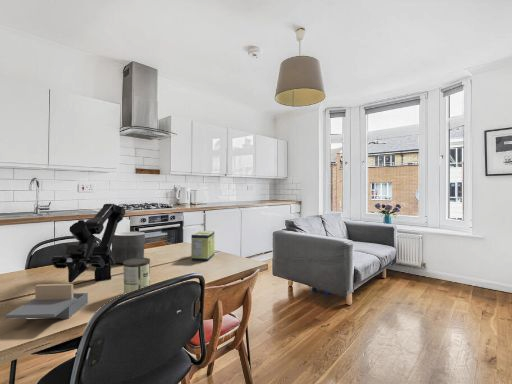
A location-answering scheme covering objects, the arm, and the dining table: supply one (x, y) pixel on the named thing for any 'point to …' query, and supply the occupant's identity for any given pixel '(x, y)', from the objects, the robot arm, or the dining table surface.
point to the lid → (46, 302)
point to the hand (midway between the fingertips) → (69, 282)
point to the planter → (128, 246)
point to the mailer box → (73, 306)
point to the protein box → (202, 245)
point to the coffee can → (136, 274)
